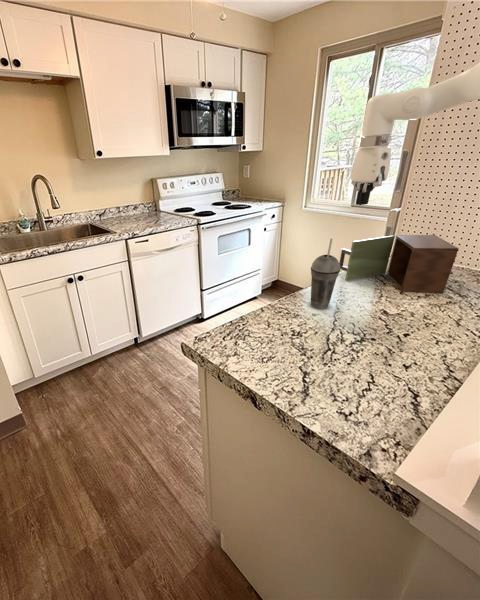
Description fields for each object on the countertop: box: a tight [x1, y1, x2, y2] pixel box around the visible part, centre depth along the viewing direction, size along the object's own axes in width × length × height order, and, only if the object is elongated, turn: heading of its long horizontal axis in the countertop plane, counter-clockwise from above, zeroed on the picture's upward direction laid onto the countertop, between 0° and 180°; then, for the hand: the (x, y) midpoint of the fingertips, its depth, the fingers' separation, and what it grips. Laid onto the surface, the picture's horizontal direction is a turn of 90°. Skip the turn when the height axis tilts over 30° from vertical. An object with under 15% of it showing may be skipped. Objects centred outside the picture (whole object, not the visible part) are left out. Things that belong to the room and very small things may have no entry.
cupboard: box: [386, 234, 459, 294], centre depth 96 cm, size 10×15×14 cm
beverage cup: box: [310, 238, 341, 310], centre depth 87 cm, size 7×7×20 cm
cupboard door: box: [338, 234, 396, 282], centre depth 106 cm, size 6×15×14 cm, turn 100°
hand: (361, 204), depth 102 cm, fingers closed
